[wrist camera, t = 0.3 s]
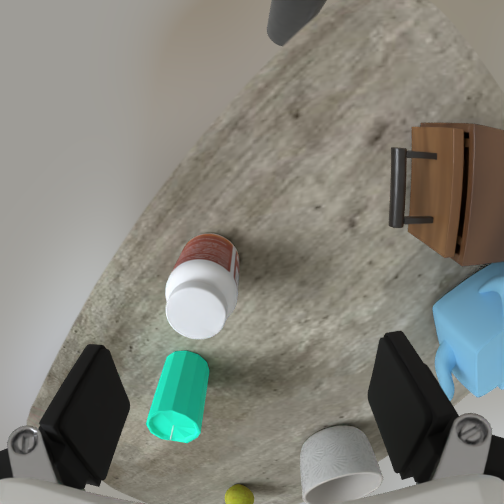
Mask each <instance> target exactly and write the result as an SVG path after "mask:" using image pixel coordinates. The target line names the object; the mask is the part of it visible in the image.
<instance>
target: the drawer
mask: <svg viewBox="0 0 504 504" xmlns="http://www.w3.org/2000/svg"><path fill="white" fill-rule="evenodd" d="M407 158H412V173H411V197H410V213H409V216H406V217H404V211H405V194H406V163H407ZM468 170H469V139H467V138H464V130H463V129H457V128H444V127H412V151H407V149H406V148H394V147H392V148H391V188H390V211H389V226H390V227H393V228H402V227H403V225H404V224H409V225H408V232H409V233H411V234H412V235H413V236H415V237H416V238H418V239H419V240H421V241H422V242H423V243H425V244H426V245H428V246H429V247H430V248H432V249H433V250H434V251H436V252H437V253H439V254H440V255H441V256H443V257H444V258H447V257H454V254H455V247H456V243H457V244H459V245H460V246H461V242H462V235H463V227H464V219H465V210H466V200H467V188H468Z"/></svg>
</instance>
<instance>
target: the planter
mask: <svg viewBox="0 0 504 504" xmlns="http://www.w3.org/2000/svg"><path fill="white" fill-rule="evenodd" d="M300 471H301V484H302V495H303V500H304V501H305V502H306V503H307V504H332V503H338V502H344V501H349V500H355V499H360V498H363V497H365V496H366V495H368V494H370V493H372V492H373V491H374V490H376V489H377V488H378V487H379V486H380V485H381V483H382V481H383V476H382V473H381V470H380V467H379V465H378V462H377V459H376V457H375V454H374V451H373V449H372V447H371V444H370V442H369V440H368V439H367V437H366V435H365V434H364V433H363V432H362V431H361V430H360V429H358V428H356V427H352V426H334V427H329V428H326V429H323V430H321V431H319V432H317V433H315V434H313V435H312V436H311V437H309V438H308V439H307V440H306V441H305V443H304V444H303V446H302V449H301V454H300Z"/></svg>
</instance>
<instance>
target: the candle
mask: <svg viewBox="0 0 504 504" xmlns="http://www.w3.org/2000/svg"><path fill="white" fill-rule="evenodd" d="M208 377H209V367H208V364H207V362H206V361H205V360H204V359H203V358H202V357H201V356H200V355H199V354H196V353H193V352H190V351H175V352H173V353H172V354H170V355H169V356H167V358H166V361H165V364H164V367H163V370H162V374H161V377H160V380H159V383H158V386H157V389H156V392H155V395H154V399H153V402H152V405H151V408H150V412H149V415H148V418H147V422H146V425H147V427H148V429H149V430H150V432H151V433H152V434H154V435H155V436H157V437H159V438H160V439H164V440H172V441H178V442H184V443H188V442H190V441H192V440H194V439H196V438H197V437H198V436H199V434H200V433H201V426H202V419H203V412H204V405H205V398H206V391H207V384H208Z"/></svg>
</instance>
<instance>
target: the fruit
mask: <svg viewBox="0 0 504 504" xmlns="http://www.w3.org/2000/svg"><path fill="white" fill-rule="evenodd" d="M225 502H226V504H253V503H254V495H253V493H252V492H251V491H250V490H249V489H248V488H247V487H246V486H244V485H240V484H236V485H233V486H232V487H230V488H229V489H228V490H227V492H226V494H225Z"/></svg>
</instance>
